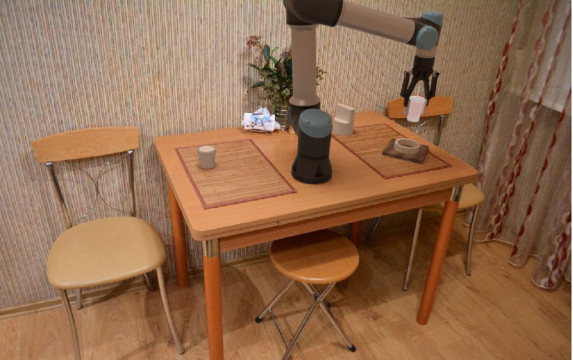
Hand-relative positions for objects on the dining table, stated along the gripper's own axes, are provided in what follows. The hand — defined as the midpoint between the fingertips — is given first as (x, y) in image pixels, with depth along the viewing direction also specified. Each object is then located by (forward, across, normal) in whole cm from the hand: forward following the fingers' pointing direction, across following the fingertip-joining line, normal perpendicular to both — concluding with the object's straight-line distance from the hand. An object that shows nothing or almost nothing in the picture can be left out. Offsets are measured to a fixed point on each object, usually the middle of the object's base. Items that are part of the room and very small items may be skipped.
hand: (413, 114), depth 178 cm
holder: (+17, 0, 0) cm, 17 cm away
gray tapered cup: (+17, -82, -6) cm, 84 cm away
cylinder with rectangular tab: (+17, -21, +23) cm, 36 cm away
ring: (+15, 0, 0) cm, 15 cm away
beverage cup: (+3, 0, 0) cm, 3 cm away
